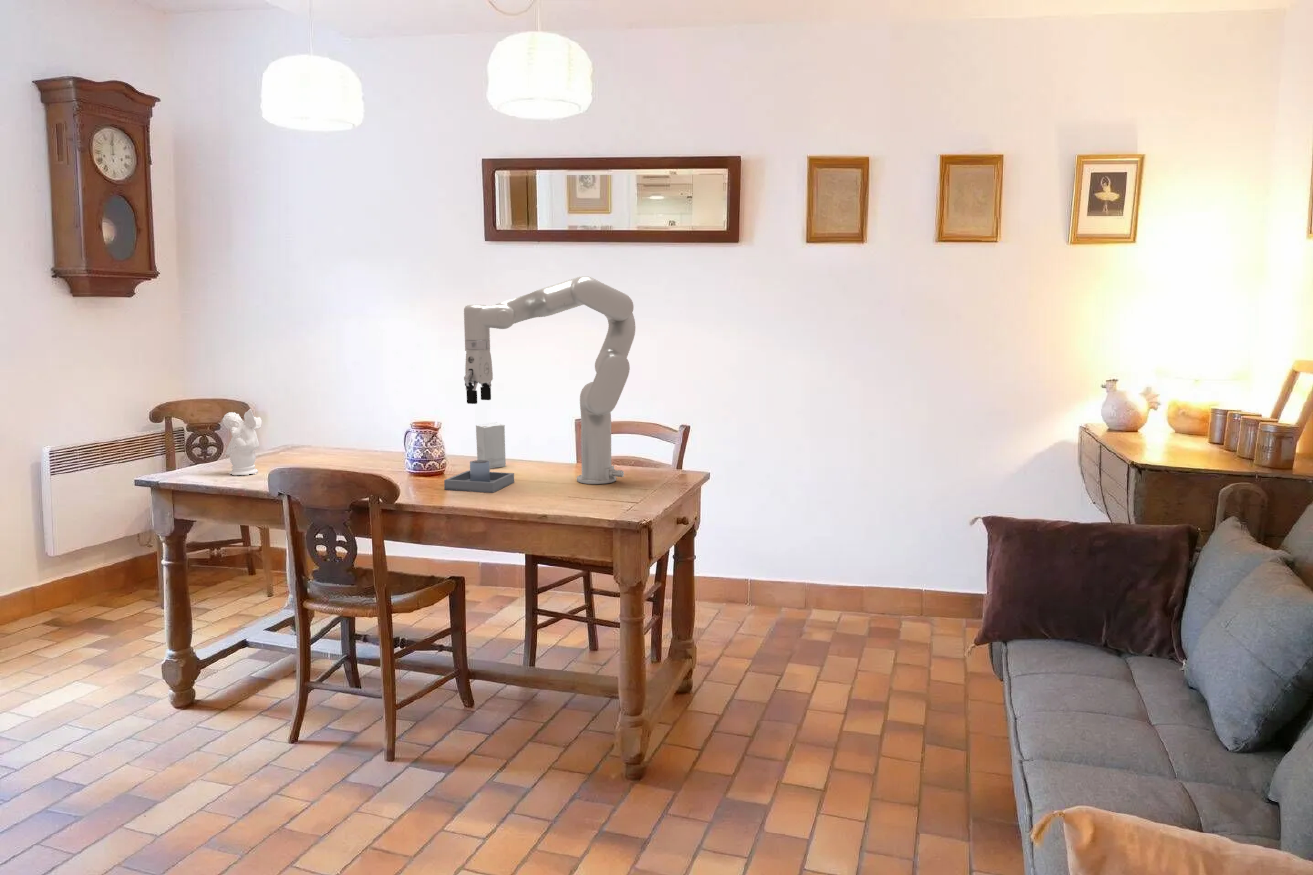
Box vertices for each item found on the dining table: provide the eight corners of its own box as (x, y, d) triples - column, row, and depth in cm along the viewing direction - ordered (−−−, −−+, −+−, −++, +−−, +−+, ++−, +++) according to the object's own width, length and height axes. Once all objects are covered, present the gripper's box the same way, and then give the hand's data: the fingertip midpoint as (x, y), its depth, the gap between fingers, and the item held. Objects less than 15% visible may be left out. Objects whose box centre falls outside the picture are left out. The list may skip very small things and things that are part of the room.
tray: (514, 482, 307) (514, 473, 306) (492, 492, 292) (492, 483, 291) (467, 479, 311) (467, 470, 310) (444, 489, 296) (444, 480, 295)
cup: (493, 482, 303) (492, 460, 302) (484, 486, 298) (484, 463, 297) (475, 481, 305) (474, 459, 304) (467, 485, 299) (466, 462, 298)
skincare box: (497, 464, 337) (496, 422, 335) (506, 467, 333) (505, 424, 330) (476, 467, 332) (475, 424, 330) (484, 469, 327) (483, 426, 325)
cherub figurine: (221, 474, 318) (216, 408, 315) (253, 468, 329) (249, 404, 325) (246, 477, 312) (241, 409, 309) (278, 471, 323) (273, 405, 319)
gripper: (476, 347, 286) (478, 405, 288) (500, 344, 302) (502, 398, 305) (453, 347, 287) (455, 404, 290) (478, 343, 304) (480, 398, 307)
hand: (479, 401), depth 297 cm, fingers open, 9 cm apart
